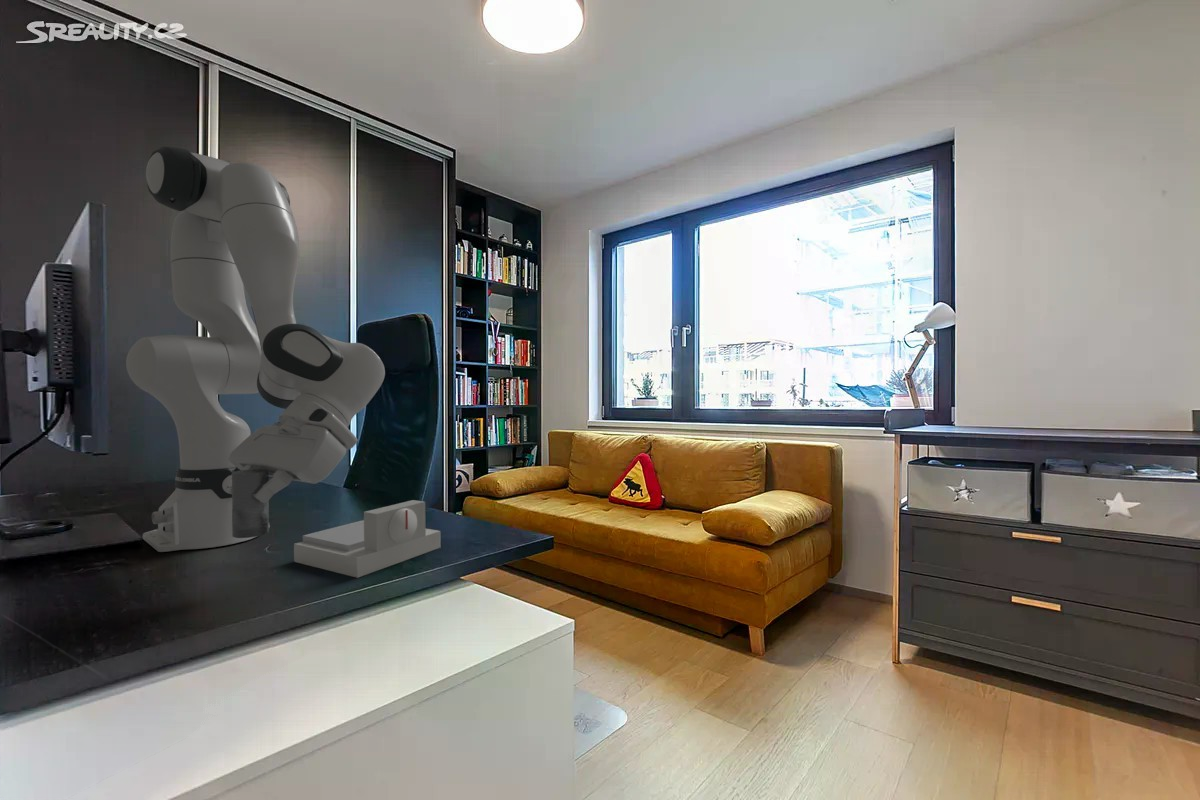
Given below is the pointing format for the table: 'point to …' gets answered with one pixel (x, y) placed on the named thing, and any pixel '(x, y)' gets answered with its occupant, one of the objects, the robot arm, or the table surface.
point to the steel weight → (249, 504)
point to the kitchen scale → (370, 541)
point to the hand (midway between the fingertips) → (245, 497)
